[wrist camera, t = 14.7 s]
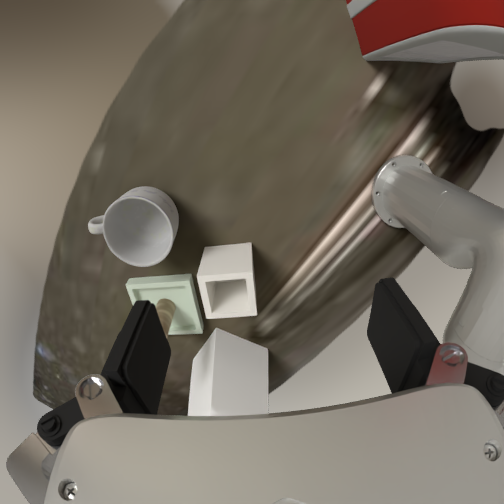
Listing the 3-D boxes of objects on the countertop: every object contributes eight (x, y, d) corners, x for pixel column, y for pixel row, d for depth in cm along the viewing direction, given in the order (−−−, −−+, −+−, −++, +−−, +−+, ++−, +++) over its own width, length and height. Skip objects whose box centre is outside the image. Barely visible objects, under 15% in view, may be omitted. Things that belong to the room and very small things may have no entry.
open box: (251, 242, 47) (252, 271, 39) (255, 282, 50) (257, 315, 42) (204, 247, 47) (196, 276, 39) (212, 285, 50) (206, 318, 42)
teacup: (190, 190, 43) (179, 206, 36) (177, 251, 47) (166, 277, 40) (109, 171, 41) (85, 184, 34) (103, 231, 45) (82, 253, 38)
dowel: (173, 297, 50) (152, 364, 36) (177, 313, 52) (159, 380, 38) (154, 298, 50) (129, 363, 36) (160, 314, 52) (138, 379, 38)
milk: (193, 359, 59) (176, 467, 36) (216, 327, 55) (204, 448, 32) (240, 377, 62) (240, 480, 39) (268, 348, 58) (277, 462, 35)
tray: (191, 273, 49) (189, 280, 47) (203, 325, 55) (202, 333, 53) (129, 278, 50) (125, 284, 48) (147, 327, 55) (144, 334, 53)
